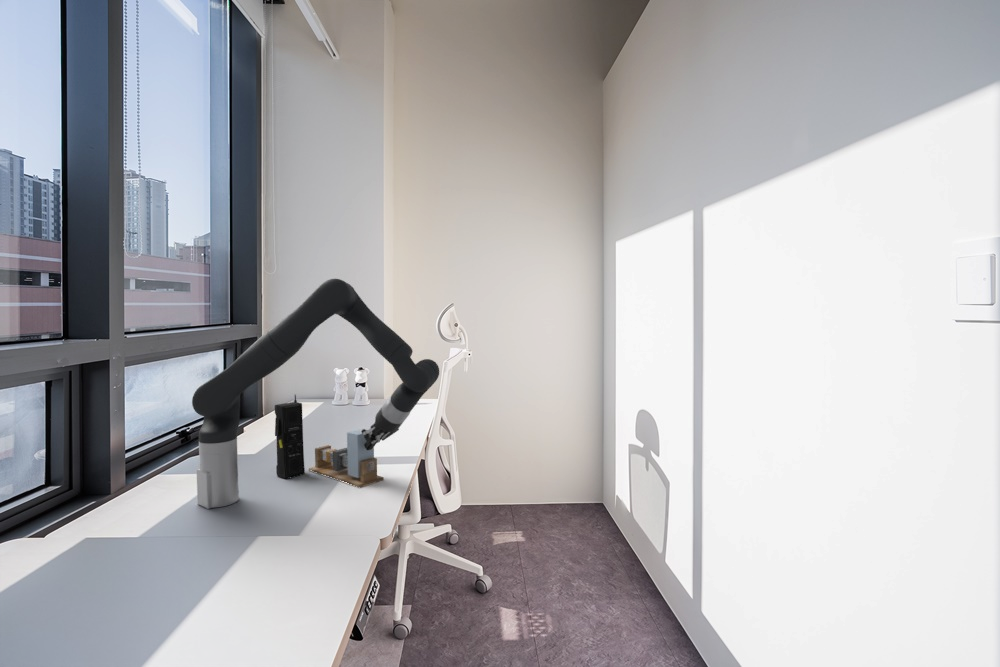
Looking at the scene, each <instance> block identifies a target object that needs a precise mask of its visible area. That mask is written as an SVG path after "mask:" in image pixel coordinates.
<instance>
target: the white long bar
mask: <svg viewBox="0 0 1000 667" xmlns="http://www.w3.org/2000/svg"><path fill="white" fill-rule="evenodd" d="M335 450H338V448H337V449H336V448H335V449H334V448H331V449H330V448H326V449H322V450H320V457H321V459H322V460H325V461H326V462H332V463H333V451H335ZM339 458H340V465H341V466H345V467H348V456H347V453H344V454H340V455H339ZM365 460H367V459H365ZM361 461H363V460H361ZM372 462H373V461H372ZM369 463H370V464H371V462H369ZM373 464H374V462H373V463H372V465H373ZM367 465H368V464H367ZM367 465H366V466H367ZM368 466H370V467H369V468H370V471H368V472H371V471H374V469H373V468H374V465H373V466H372V469H373V470H371V465H368ZM369 468H367V469H368V470H369ZM367 469H366V470H367ZM366 472H367V471H366ZM368 472H367V473H368Z"/></svg>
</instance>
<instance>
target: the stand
mask: <svg viewBox="0 0 1000 667" xmlns="http://www.w3.org/2000/svg"><path fill="white" fill-rule="evenodd" d="M326 448H330V449H332V445H329V444H328V445H323V446H319V447H315V448H314V465H315V466H313V467H310V468H308V471H309V470H312V471H314V472H317V473H320V474H323V475H326V476H329V477H332V478H335V479H338V480H341V481H344V482H347V483H349V484H348V485H350V484H352V485H351V486H353V485H355V486H354V487H356V486H357V488H359V487H360V488H363V487H366V486H368V485H372V484H375V483H378V482H381V481H384V476H380V475H378V458H377V457H374V458H371V459H367V460H363V461H360V478H356V477H353V476H350V475H348V468H347V469H343V470H340V471H335V470H333V463H332V462H326V461H325V460H322V459H321V457H320V450H322V449H326ZM372 461H373V462H374V464H373V465H374V468H373V469H374V471H371V472H368V471H370V468H369V467H370V466H368V465H371V470H373V469H372V466H373V465H372V463H373V462H372ZM369 462H371V464H370V463H369ZM367 464H368V465H367ZM366 465H367V466H366ZM367 468H369V470H368V469H367ZM366 469H367V470H366ZM366 471H367V472H368V473H367V472H366ZM314 472H313V473H314ZM317 473H316V474H317ZM320 474H319V475H320ZM323 475H322V476H323ZM326 476H325V477H326ZM329 477H328V478H329ZM332 478H331V479H332ZM335 479H334V480H335ZM338 480H337V481H338ZM341 481H340V482H341ZM344 482H343V483H344ZM347 483H346V484H347Z"/></svg>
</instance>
